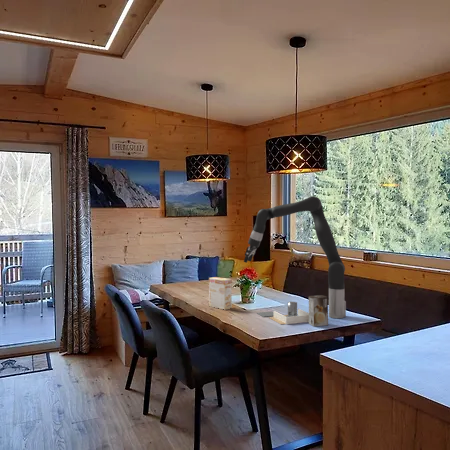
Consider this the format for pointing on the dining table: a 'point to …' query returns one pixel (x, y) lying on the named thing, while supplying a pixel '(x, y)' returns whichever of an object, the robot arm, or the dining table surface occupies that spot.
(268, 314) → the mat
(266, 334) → the dining table surface
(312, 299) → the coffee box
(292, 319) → the white rectangular tray
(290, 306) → the tin can
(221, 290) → the coffeecake box
